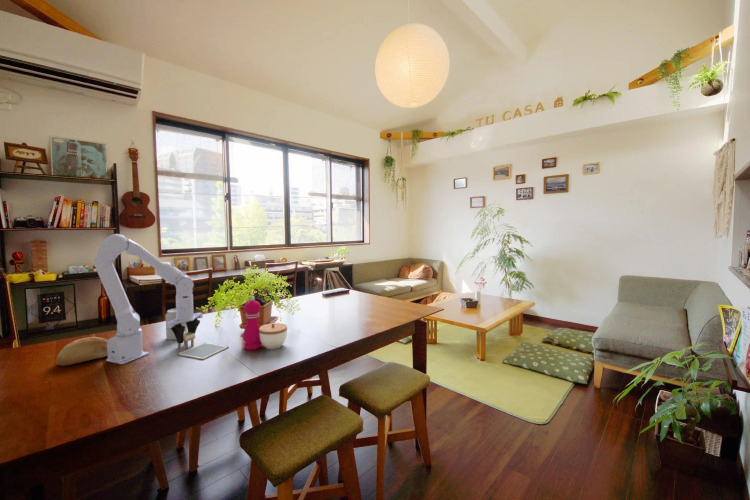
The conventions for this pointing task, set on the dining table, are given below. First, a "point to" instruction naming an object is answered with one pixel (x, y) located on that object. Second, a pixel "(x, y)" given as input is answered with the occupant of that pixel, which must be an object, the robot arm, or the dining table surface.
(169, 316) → the can
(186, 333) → the small wooden stool
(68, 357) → the bread roll
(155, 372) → the dining table surface
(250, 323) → the pepper mill
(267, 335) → the lidded jar
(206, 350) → the mat
